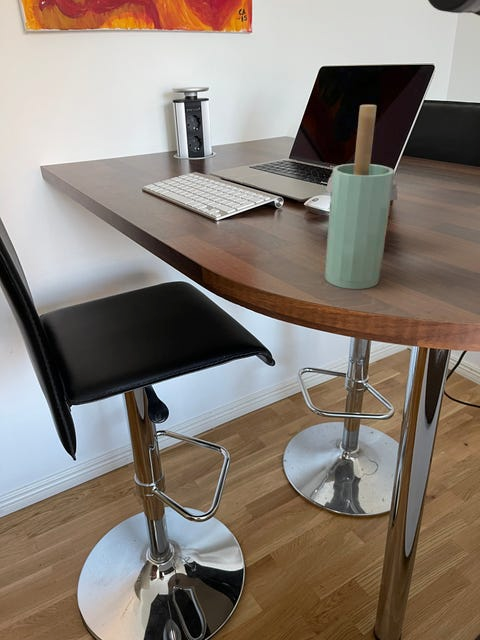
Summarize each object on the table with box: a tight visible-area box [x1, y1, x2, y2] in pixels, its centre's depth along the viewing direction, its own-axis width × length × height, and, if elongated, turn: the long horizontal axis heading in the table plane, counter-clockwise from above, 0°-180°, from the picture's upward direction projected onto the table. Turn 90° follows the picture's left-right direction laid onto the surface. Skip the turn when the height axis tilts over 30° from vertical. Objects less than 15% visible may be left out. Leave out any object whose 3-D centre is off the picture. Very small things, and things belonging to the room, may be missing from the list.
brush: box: [353, 104, 377, 175], centre depth 60 cm, size 4×4×20 cm
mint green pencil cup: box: [324, 163, 395, 290], centre depth 62 cm, size 7×7×14 cm
